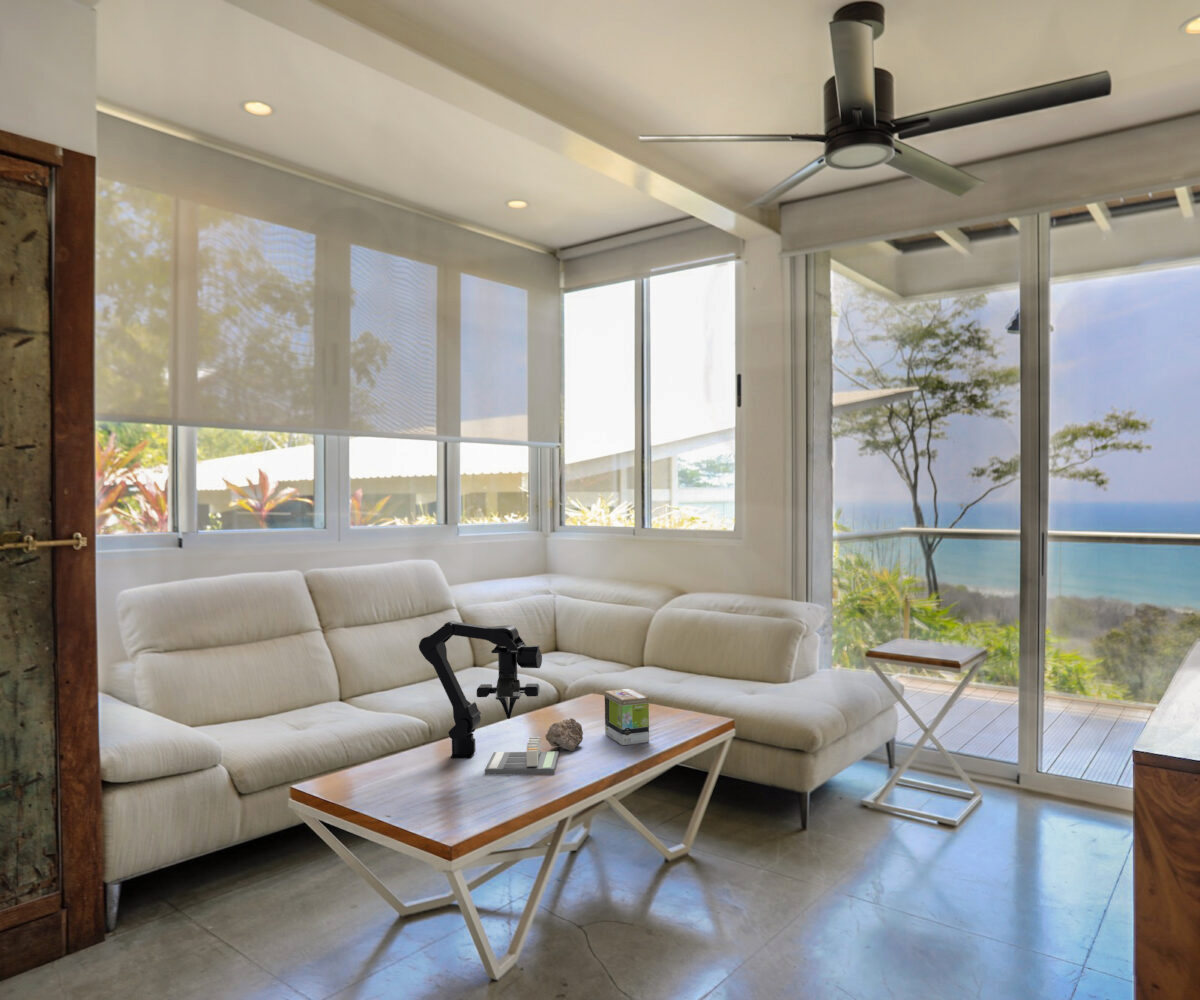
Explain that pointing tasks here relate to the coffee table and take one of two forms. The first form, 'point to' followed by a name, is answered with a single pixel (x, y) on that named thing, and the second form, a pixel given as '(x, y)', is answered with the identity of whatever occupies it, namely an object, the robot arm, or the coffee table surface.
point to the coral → (565, 734)
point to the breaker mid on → (532, 745)
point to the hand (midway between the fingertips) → (508, 718)
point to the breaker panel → (521, 763)
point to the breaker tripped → (532, 756)
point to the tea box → (627, 716)
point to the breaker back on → (535, 739)
